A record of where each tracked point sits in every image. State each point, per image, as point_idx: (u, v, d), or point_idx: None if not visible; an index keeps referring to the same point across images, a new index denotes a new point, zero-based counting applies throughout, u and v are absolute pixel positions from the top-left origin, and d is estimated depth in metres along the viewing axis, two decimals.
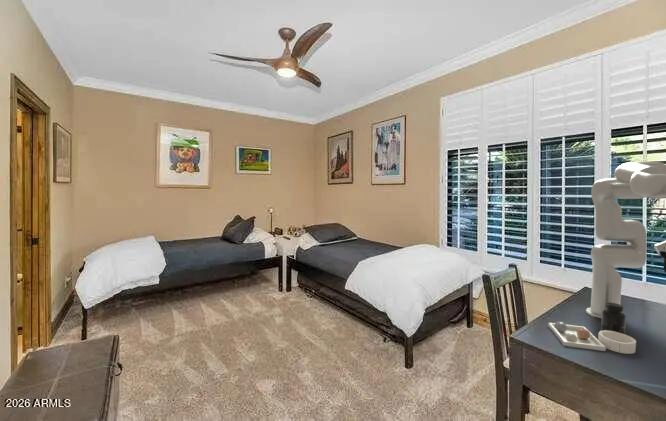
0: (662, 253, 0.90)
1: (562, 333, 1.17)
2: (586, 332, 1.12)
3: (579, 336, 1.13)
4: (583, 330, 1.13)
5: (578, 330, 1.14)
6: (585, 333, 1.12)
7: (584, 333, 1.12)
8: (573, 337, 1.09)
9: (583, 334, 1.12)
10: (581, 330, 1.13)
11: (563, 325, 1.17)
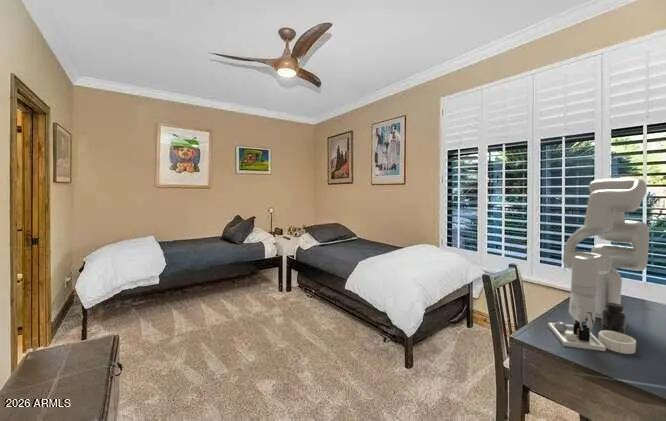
0: (590, 327, 1.09)
1: (562, 333, 1.17)
2: None
3: None
4: None
5: (578, 330, 1.14)
6: None
7: None
8: (573, 337, 1.09)
9: None
10: None
11: (563, 325, 1.17)
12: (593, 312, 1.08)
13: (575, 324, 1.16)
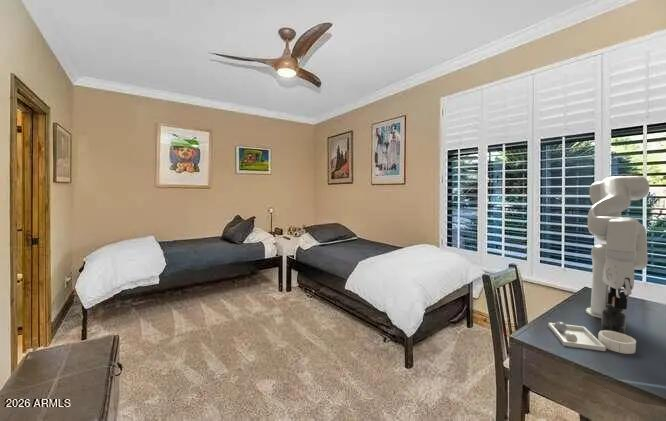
0: None
1: (562, 333, 1.17)
2: None
3: None
4: None
5: (613, 298, 1.07)
6: None
7: None
8: (573, 337, 1.09)
9: None
10: None
11: (563, 325, 1.17)
12: (631, 277, 1.01)
13: (610, 293, 1.09)
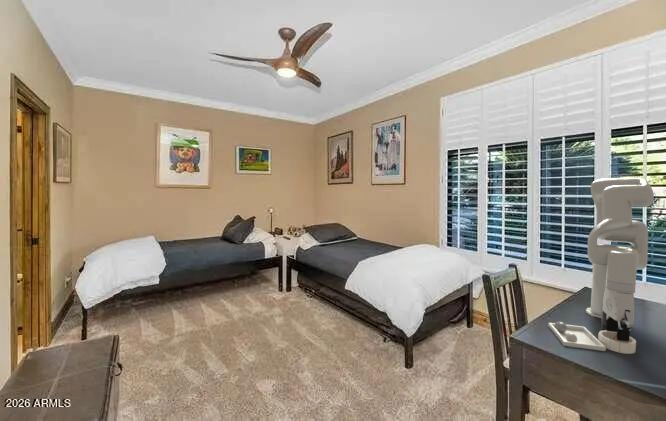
0: None
1: (562, 333, 1.17)
2: (626, 341, 1.06)
3: None
4: None
5: None
6: (624, 341, 1.06)
7: (623, 341, 1.06)
8: (573, 337, 1.09)
9: None
10: None
11: (563, 325, 1.17)
12: (632, 310, 1.02)
13: (608, 320, 1.11)
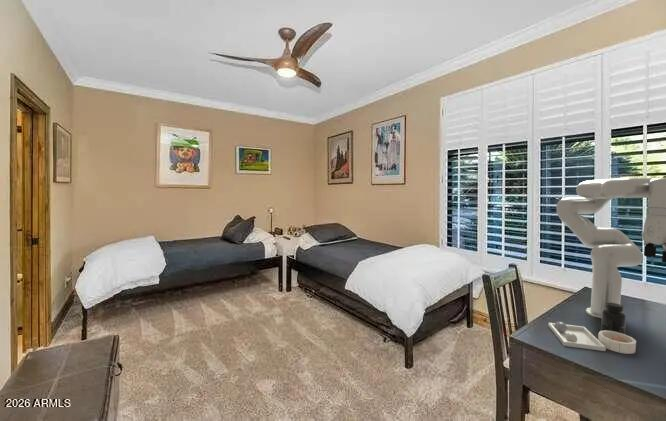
0: None
1: (562, 333, 1.17)
2: (622, 340, 1.06)
3: None
4: (619, 338, 1.07)
5: (613, 338, 1.08)
6: (621, 341, 1.06)
7: (620, 341, 1.06)
8: (573, 337, 1.09)
9: None
10: (617, 338, 1.07)
11: (563, 325, 1.17)
12: None
13: (646, 245, 1.15)
